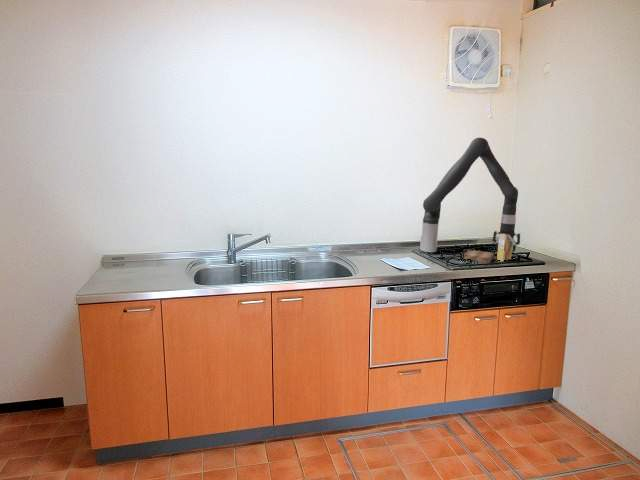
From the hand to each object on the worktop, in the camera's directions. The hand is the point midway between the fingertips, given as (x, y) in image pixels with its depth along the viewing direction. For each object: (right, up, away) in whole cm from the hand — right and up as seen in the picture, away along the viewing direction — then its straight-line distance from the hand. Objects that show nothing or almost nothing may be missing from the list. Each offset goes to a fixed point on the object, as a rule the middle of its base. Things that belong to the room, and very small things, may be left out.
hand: (505, 250), depth 264 cm
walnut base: (-15, -5, +2) cm, 15 cm away
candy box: (0, -6, +1) cm, 6 cm away
